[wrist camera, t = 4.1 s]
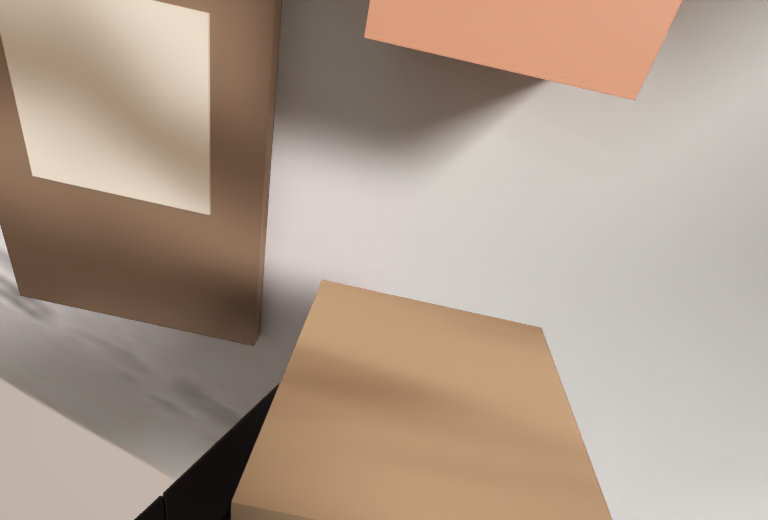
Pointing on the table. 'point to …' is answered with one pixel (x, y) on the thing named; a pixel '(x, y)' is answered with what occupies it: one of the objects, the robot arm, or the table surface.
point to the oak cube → (417, 421)
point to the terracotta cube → (535, 36)
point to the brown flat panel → (140, 156)
